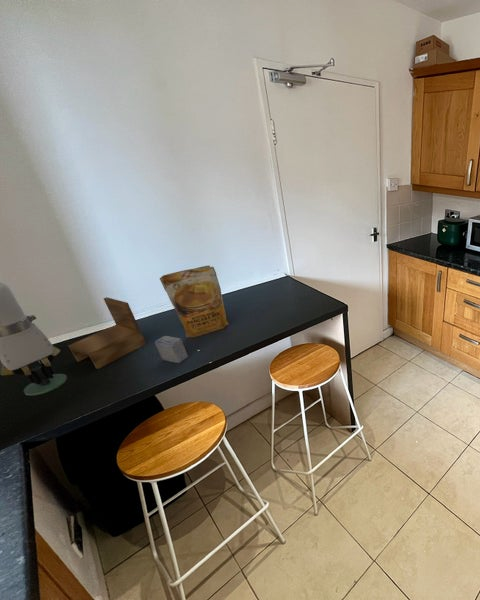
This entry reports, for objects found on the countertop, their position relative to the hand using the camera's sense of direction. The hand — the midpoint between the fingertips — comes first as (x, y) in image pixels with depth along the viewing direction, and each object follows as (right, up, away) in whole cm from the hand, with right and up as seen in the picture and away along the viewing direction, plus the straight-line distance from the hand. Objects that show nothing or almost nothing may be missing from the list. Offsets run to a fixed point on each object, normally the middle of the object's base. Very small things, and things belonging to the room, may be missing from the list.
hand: (43, 379), depth 93 cm
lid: (0, -2, +1) cm, 2 cm away
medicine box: (+21, +1, +26) cm, 33 cm away
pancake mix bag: (+22, +10, +43) cm, 50 cm away
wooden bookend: (-6, +3, +29) cm, 30 cm away
